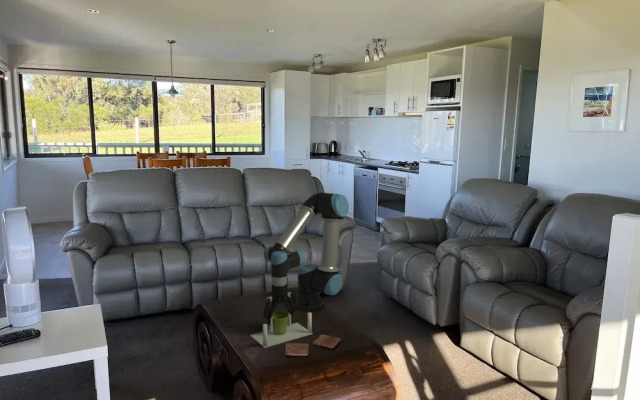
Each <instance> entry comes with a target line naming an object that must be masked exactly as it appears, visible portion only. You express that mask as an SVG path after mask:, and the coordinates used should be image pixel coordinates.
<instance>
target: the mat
mask: <svg viewBox="0 0 640 400" xmlns="http://www.w3.org/2000/svg"><path fill="white" fill-rule="evenodd" d="M312 315H313V313H312V312H310V311H309V312H307V328H306V327H304V326H303V325H301V324H300V323H298V322H293V323H291V327H289V326H287V330H286V333H283V334H275V333H274V330H273V332H270V331H269V329H268V324H267V323H263V324H262V331H260V332H259V331H258V332H256V333H252V334H249V336H250V338H252V339H253V340H254V341H255V342H257V343H258V344H259V345H260V346H261V347H262V348H263V349H265V348H269V347H273V346H276V345H279V344H284V343H286V342H290V341H293V340H296V339H300V338H303V337H307V336H310V335H313V331H312V330H313V327H312V325H313V324H312V323H313V322H312V320H313V317H312Z"/></svg>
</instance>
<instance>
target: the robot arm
mask: <svg viewBox="0 0 640 400" xmlns="http://www.w3.org/2000/svg"><path fill="white" fill-rule="evenodd" d="M349 208H350V206H349V201H348V199H347V197H346V196H345V195H343V194H339V193H330V192H316V193H314V194H311V196H309V197H308V198H307V199H306V200H304V202H303V203H302V204H301V205H300V207H299V211H298V212H297V214H296V215H295V217H294V218H293V219H292V221H291V222H290V223H289V224H288V226H287V227H286V229H285V230H283V232H282V234H281V235H279V238H278V239H277V240H276V242H275V243H274V245H273V246H268V247H266V248H265V249H264V250H263V258H264V259H265V261H267V262H270V270H271V273H270V274H271V278H270V279H271V296H266V297H265V305H264V311H263V316H262V317H263V318H264V319H266V324H267V326H268V330H269V331H270V332H273V319H272V318H271V317H272V315H273V312H275V309H277V306H278V305H279V304H284V307H285V309H286V310H287V313H289V318H288V322H287V326H289V327H291V324H292V320H293V315H294V312H296V311H297V310H301V311H309V312H310V311H315V310H319V309H321V308H322V306H323V301H322V298H321V296H320V293H322V294H325V295H330V296H335V295H338V293H339V292H340V290H342V287H343V284H344V278H343V276H342V275H341V274H340V268H338V254H339V253H338V252H339V242H340V229H341V223H342V221H344V217H346V216H347V215H348V213H349V210H350V209H349ZM319 214H321V219H322V220H323V222H324V223H323V234H322V247H321V248H322V249H321V261H320V265H318V264H305V261H306V256H305V254H304V252H303V251H302V250H294V251H290V248H291V247H292V246H293V244H294V243H295V241H296V240H297V239H298V237H300V235H301V233H302V232H303V231H304V229H305V228H306V226H307V225H308V224H309V223H310V221H311V220H312V219H314V218H316V216H317V215H319ZM304 264H305V265H304ZM298 267H299V268H298ZM294 268H298V270H297V295H296V297H295V301H294V293H293V292H291V291H288V270H291V269H294ZM287 297H288V301H287ZM288 302H289V303H288Z"/></svg>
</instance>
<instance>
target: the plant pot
mask: <svg viewBox="0 0 640 400" xmlns="http://www.w3.org/2000/svg"><path fill="white" fill-rule="evenodd" d="M271 318H272V319H273V330H274V333H275V334H283V333H286V330H287V322H288V318H289V312H288V311H281V310H280V311H279V310H278V311H274V312H273V315H272V317H271Z"/></svg>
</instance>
